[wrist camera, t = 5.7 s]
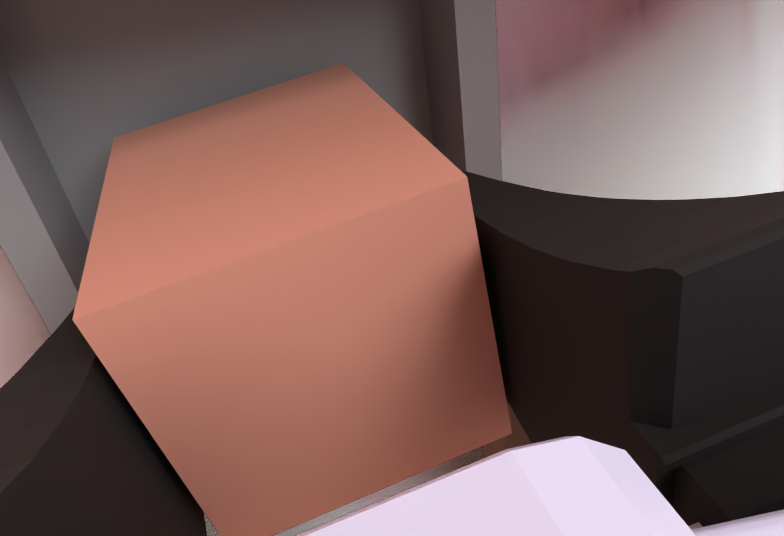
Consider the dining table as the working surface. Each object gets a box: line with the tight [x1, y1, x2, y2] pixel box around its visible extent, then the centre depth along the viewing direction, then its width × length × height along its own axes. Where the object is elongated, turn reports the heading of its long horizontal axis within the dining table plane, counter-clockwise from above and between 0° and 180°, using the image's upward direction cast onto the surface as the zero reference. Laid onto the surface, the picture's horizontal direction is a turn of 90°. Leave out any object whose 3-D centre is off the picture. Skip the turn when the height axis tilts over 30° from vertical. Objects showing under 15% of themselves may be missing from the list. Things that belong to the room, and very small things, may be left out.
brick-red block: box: [72, 63, 512, 536], centre depth 10 cm, size 4×4×6 cm
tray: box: [0, 0, 502, 335], centre depth 12 cm, size 13×14×5 cm
